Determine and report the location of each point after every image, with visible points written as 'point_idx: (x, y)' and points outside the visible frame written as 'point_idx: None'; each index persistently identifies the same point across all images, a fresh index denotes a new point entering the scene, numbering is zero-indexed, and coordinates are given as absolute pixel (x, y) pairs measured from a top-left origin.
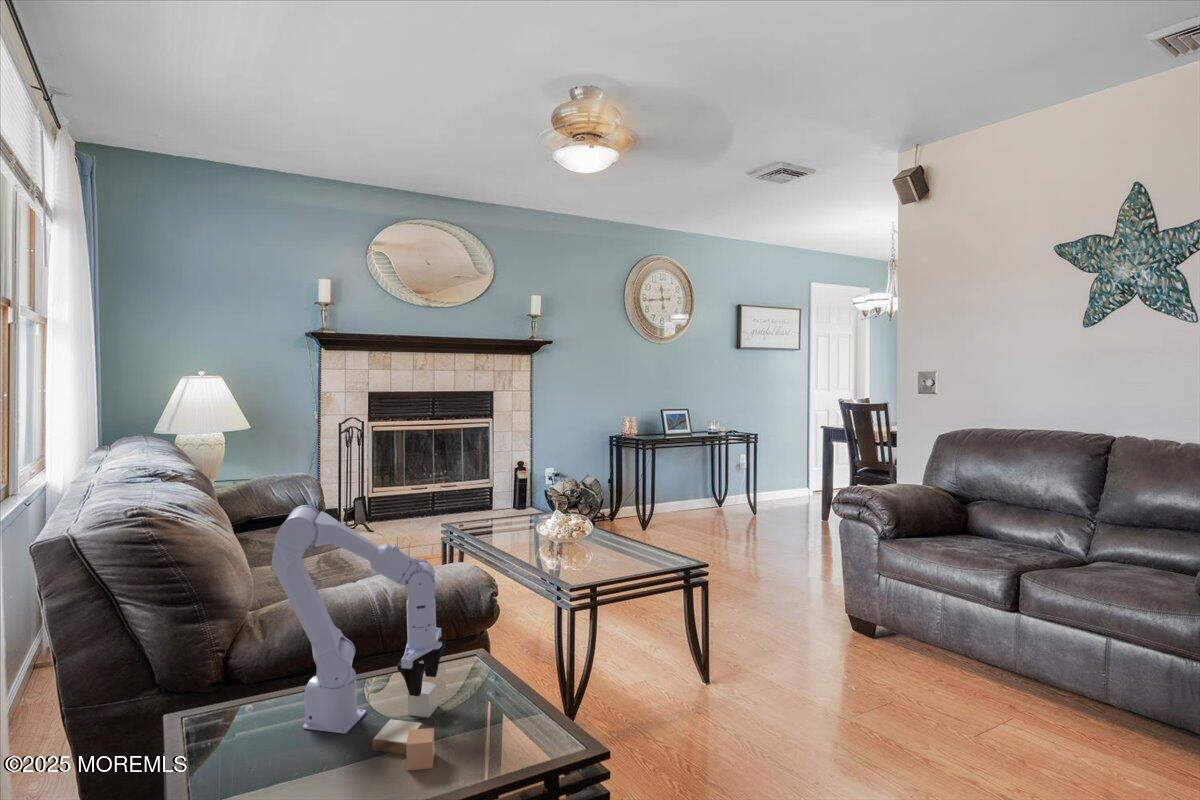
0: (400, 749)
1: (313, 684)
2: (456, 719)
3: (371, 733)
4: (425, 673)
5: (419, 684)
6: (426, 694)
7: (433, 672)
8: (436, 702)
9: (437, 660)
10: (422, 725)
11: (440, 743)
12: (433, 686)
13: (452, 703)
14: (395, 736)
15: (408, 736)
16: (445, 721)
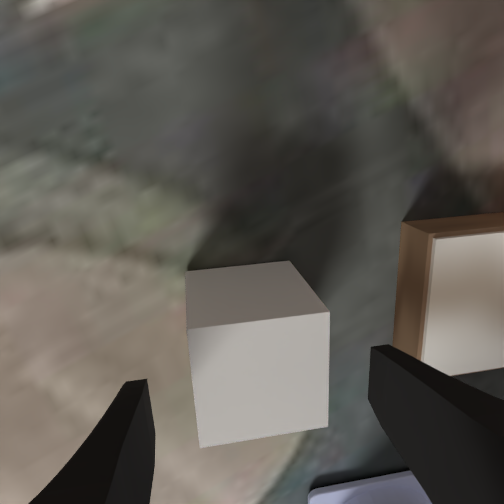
0: None
1: None
2: (268, 125)
3: None
4: (153, 452)
5: (463, 384)
6: (328, 322)
7: (144, 411)
8: (207, 279)
9: (119, 468)
10: (433, 231)
11: (461, 110)
12: (236, 331)
13: (136, 216)
14: None
15: None
16: (297, 172)
